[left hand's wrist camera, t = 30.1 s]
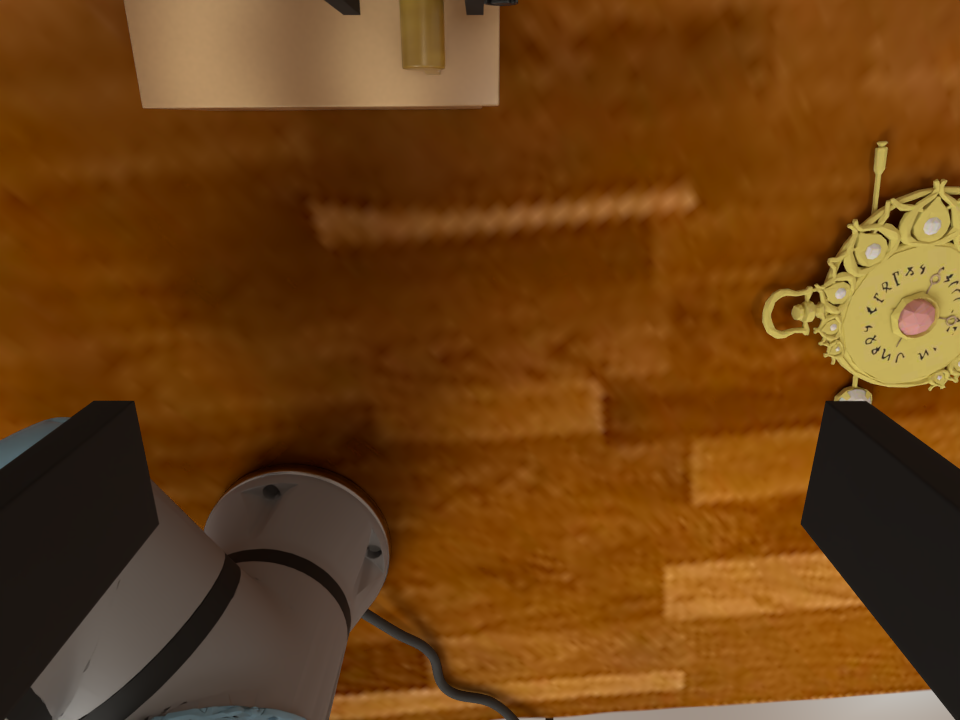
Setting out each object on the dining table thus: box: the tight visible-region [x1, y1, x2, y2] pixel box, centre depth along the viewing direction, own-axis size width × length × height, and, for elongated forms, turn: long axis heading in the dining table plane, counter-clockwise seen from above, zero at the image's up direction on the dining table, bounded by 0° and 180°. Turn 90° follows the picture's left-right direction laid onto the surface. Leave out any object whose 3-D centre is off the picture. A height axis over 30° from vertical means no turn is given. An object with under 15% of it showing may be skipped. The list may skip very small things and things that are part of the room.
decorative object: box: [762, 141, 960, 404], centre depth 46 cm, size 21×2×20 cm
